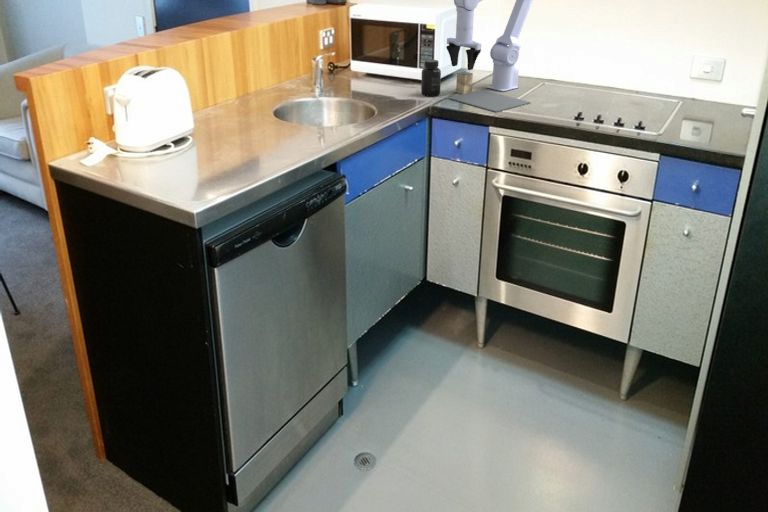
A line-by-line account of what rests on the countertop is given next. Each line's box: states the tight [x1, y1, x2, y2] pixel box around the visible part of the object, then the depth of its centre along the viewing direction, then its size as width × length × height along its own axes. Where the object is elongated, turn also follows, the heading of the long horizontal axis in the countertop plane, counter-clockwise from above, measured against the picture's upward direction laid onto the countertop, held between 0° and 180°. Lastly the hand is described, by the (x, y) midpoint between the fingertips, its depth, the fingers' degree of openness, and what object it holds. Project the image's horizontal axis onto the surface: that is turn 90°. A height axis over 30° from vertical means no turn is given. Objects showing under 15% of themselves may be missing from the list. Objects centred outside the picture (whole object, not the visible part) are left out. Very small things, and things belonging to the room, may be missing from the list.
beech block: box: [455, 70, 474, 95], centre depth 257 cm, size 4×4×7 cm
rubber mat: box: [448, 89, 531, 113], centre depth 248 cm, size 18×22×1 cm
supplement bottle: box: [420, 59, 442, 98], centre depth 252 cm, size 7×7×12 cm
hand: (462, 67), depth 252 cm, fingers open, 7 cm apart
